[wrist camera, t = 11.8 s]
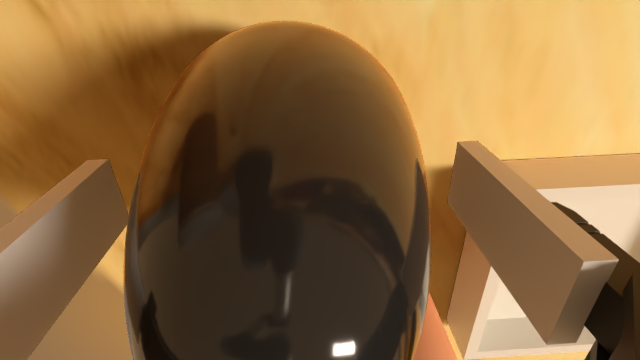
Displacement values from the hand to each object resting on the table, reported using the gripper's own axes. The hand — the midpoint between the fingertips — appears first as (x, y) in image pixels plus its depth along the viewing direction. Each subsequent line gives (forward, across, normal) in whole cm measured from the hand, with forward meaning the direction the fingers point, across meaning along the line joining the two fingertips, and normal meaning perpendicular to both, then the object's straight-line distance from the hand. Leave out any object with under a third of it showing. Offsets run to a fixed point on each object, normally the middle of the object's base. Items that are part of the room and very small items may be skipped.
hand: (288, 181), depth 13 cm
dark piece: (+6, 0, 0) cm, 6 cm away
